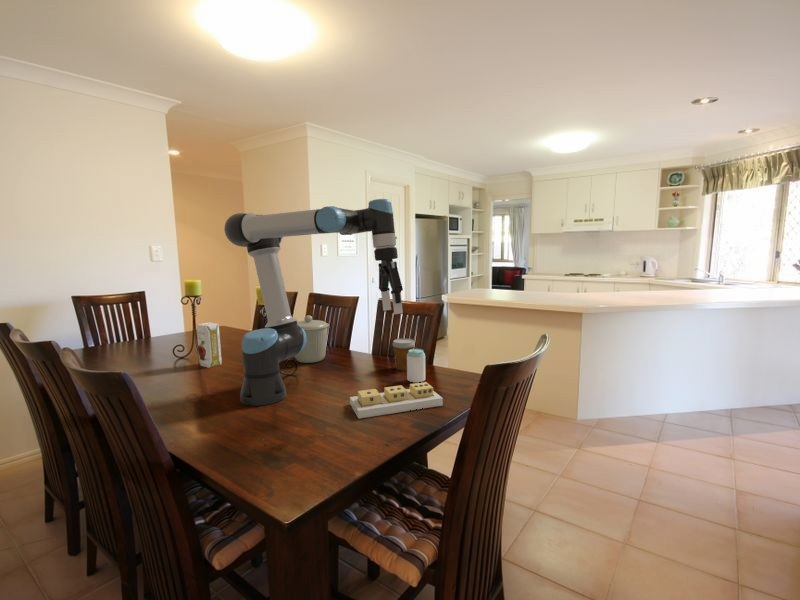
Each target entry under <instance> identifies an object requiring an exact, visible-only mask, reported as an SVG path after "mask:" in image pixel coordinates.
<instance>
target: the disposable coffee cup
mask: <svg viewBox="0 0 800 600" xmlns="http://www.w3.org/2000/svg"><path fill="white" fill-rule="evenodd" d="M391 344H392V346H393V352H394V358H395V359H394V360H395V367H396V369H397V370H399V371H407V354H408V352H409V350H410V349H415V348H414V347H415V344H416V343H415V340H414V339H412V338H396V339H394V340H393V342H392V343H391Z"/></svg>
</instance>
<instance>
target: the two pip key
mask: <svg viewBox="0 0 800 600" xmlns="http://www.w3.org/2000/svg"><path fill="white" fill-rule="evenodd" d="M383 388H384V390H383V391H384V396H385V399H386V400H387V401H388V402H389V403H392V402H399V401H405V400H408V391H407V390H406V389H407V388H405V387H404V386H403V385H394V386H386V387H385V386H384V387H383Z"/></svg>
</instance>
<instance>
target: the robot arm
mask: <svg viewBox="0 0 800 600" xmlns="http://www.w3.org/2000/svg"><path fill="white" fill-rule="evenodd" d="M223 228H224V229H223V230H224V234H225V237H226V238H227V240H228V241H229V242H230V243H231V244H233V245H235V246H237V247H240V248H241V247H242V248H246V250H247V253H248V254H247V255H249V256H250V257H252V258H253V262H254V266H255V271H256V275H257V278H258V282H259V283H258V284H259V287H260V292H261V297H262V301H263V305H264V309H265V314H266V317H267V318H266V319H267V322H266V324H265V325H264V328H259V329H254V330H251V331H249V332H247V333H245V334H244V335H242V340H241V352H242V353H241V354H242V364H243V374H244V375H243V377H244V378H243V382H242V385H241V389H240V393H239V401H240V403H241V404H243V405H246V406H252V407H253V406H254V407H258V406H265V405H271V404H275V403H277V402H280V401H282V400H284V399H285V398H286V396H287V390H286V386H285V383H284V381H283V379H282V376H281V374H280V363H281V362H283V361H285V360H288V359H290V358H294V357H295V356H296V355H297V354H299V353H300V352H301V351H302V350H303V349H304V347H305V345H306V341H307V338H306V333H305V331H304V329H303V328H301V326H299V325H298V324H297V322H298V320H297V318H295V317H293V316H292V314H291V313H292V312H291V309H290V304H289V299H288V295H287V290H286V287H285V281H284V278H283V274H282V269H281V265H280V260H279V255H278V253H279V252H280V251H281V245H280V244H281V243H282V239H283V238H286V237H300V236H309V235H311V236H312V235H322V234H323V235H324V234H333V233H338V234H340V235H341V236H348V235H350V236H351V235H354V234H355V235H356V234H362V233H366V232H368V233H369V232H371V236H372V237H371V238H372V239H371V240H372V247H373V248H374V250H373V252H374V259H375V261H377V262H378V261H379V262H380V263H378V264H377V265H378V290H380V292H381V293H380V294H381V303H382V311H383V312H384V311H385V312H386V311H391V310H392V306H393V314H394V315H399V314H403V313H404V311H403V302H402V291H404V288H403V286H402V285H403V284H402V281H401V277H400V274H399V270H398V262H397V261H393V260H396V259H398V258H399V257H398V255H399V254H398V248H397V247H396V246H397V239H398V237H397V235H396V229H395V221H394V211H393V205H392V201H391V200H390V199H389V198H388V199H387V198H378V199H373V200H370V201H368V206H367V208H362V209H356V210H355V209H354V210H353V209H348V208H347V209H346V208H341V207H338V206H331V205H329V206H323V207H322V208H318V209H317V208H316V209H308V210H297V211H290V212H288V211H287V212H280V213H279V212H278V213H272V214H269V213H268V214H255V213H252V212H251V213H250V212H249V213H248V212H247V213H246V212H245V213H243V212H240V213H239V212H238V213H235V214H232V215H230V216H229V217H228V218H227V220H226V221H225V223H224V227H223ZM390 288H391V290H390ZM390 294H391V295H390ZM391 298H392V299H391ZM391 300H392V304H391ZM391 305H392V306H391Z"/></svg>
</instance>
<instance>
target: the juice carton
mask: <svg viewBox="0 0 800 600" xmlns="http://www.w3.org/2000/svg"><path fill="white" fill-rule="evenodd" d="M196 335H197V336H196V338H197V349H198V360H199V366H201V367H204V368H209V369H210V368H213V367H218V366H222V348H221V336H220V326H219V323H213V322H211V321H209V322H203V323H198V324H196Z"/></svg>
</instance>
